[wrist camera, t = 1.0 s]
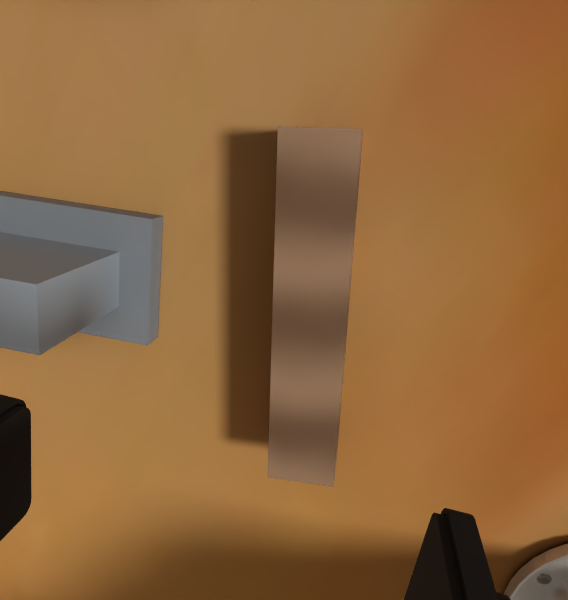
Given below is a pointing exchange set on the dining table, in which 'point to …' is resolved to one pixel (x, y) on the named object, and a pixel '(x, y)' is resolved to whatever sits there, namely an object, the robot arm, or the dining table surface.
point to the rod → (311, 297)
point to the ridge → (76, 272)
